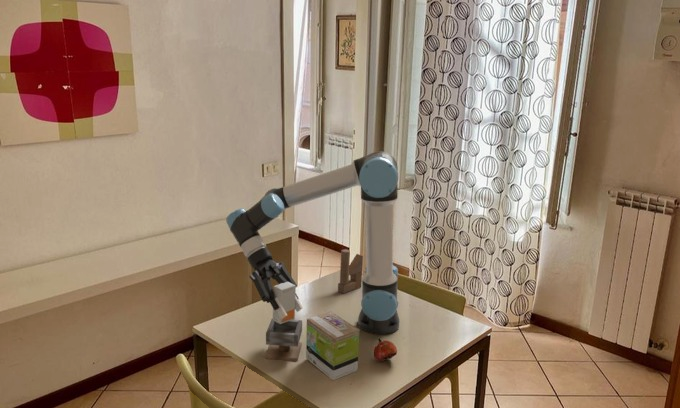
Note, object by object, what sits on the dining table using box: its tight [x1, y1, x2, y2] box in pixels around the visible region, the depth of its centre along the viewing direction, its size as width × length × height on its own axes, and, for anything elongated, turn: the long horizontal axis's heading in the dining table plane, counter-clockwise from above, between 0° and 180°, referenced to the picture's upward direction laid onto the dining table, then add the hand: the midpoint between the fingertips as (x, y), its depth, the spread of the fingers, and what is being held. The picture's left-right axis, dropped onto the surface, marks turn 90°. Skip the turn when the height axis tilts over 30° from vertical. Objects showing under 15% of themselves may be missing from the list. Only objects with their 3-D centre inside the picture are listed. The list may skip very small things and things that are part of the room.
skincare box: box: [272, 282, 297, 324], centre depth 177 cm, size 6×4×12 cm
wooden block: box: [337, 248, 364, 294], centre depth 229 cm, size 4×11×18 cm, turn 135°
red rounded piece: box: [373, 337, 398, 368], centre depth 177 cm, size 7×7×10 cm
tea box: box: [305, 310, 360, 381], centre depth 172 cm, size 15×10×15 cm
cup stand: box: [265, 318, 303, 362], centre depth 180 cm, size 10×10×9 cm
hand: (292, 313), depth 175 cm, fingers closed on skincare box, 6 cm apart
